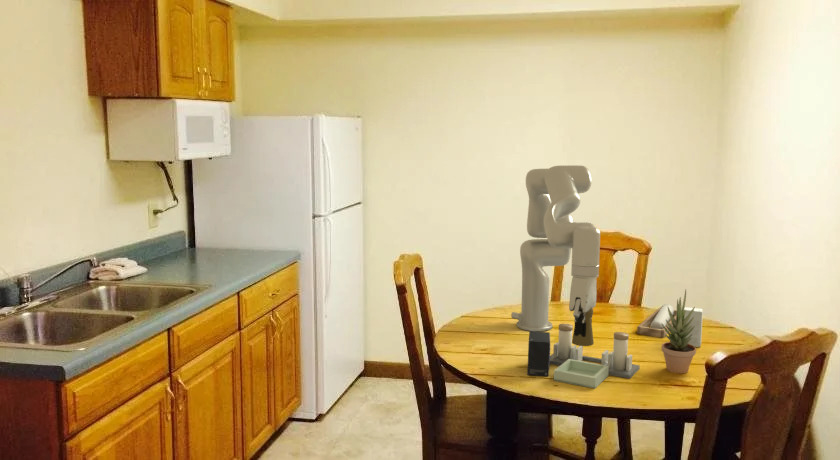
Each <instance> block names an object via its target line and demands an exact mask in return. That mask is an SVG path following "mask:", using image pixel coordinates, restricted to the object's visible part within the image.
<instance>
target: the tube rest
mask: <svg viewBox="0 0 840 460" xmlns="http://www.w3.org/2000/svg"><path fill="white" fill-rule="evenodd" d="M660 308H661V307H659V308H657V309H656V310H654V311H653V313H651V314H650V315H649V316H648V317H647V318H646V319H644V320H643V321H642V322H641V323H640V324H639V325H637V330H636V334H638V335H644V336H650V337H657V338H665V337H666V336H665V335H664V334H666V335H667V336H668V333H667V332H666V331H665V329H664V328H663V329H655V328H650V326H651V323H652V321H653V320H654V318H655V317H656V315H657V313H658V312H659V310H660ZM676 311H677V309H676V310H675V309H674V315H673V317H674V319H675V320H676ZM669 323H670V324H671V325H672V322H671V320H670V321H669ZM667 326H668V324H667ZM672 326H673V325H672ZM668 327H669V326H668ZM665 328H666V329H667V330H668V328H667V327H666V326H665ZM668 331H669V330H668ZM669 333H670V331H669Z"/></svg>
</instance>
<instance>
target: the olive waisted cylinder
mask: <svg viewBox="0 0 840 460" xmlns="http://www.w3.org/2000/svg"><path fill="white" fill-rule="evenodd" d="M580 311H581V312H583V310H581V309H580ZM593 314H594V308H592V307H591V308H590V310H589V311H588V312H586V318H585V323H586V336H585V337H582V335H581V334H579V335H578V336H575V335H574V332H572V345H576V346H578V347H579V346H583V347H590V346H593V345H594V335H593V325H592V324H593V321H592V322H591V316H592V317H593ZM580 315H582V317H583V314H580ZM574 328H575V326H574V327H573V329H574Z"/></svg>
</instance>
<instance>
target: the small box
mask: <svg viewBox="0 0 840 460" xmlns="http://www.w3.org/2000/svg"><path fill="white" fill-rule="evenodd" d="M528 332H529V334H528V345H527V346H528V351H527V352H528V353H527V354H528V355H527V367H526V370H527V371H526V375H527V376H539V377H549V373H550V365H551V364H550V356H551V335H550V334H551V333H550V331H549V332H546V331H528Z"/></svg>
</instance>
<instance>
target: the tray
mask: <svg viewBox="0 0 840 460" xmlns="http://www.w3.org/2000/svg"><path fill="white" fill-rule="evenodd" d="M608 371H609V366H606V365H601V363H596V362H591V361H585V360H582V361H578V360H573V359H568V360H567V361H565V362H564V363H563V364H562V365H560V366H559V365H558V366H557V368H555V369H553V381H554V382H560V383H563V384H569V385H574V386H580V387H585V388H589V389H595V390H596V388H597V387H599V385H600V384H602V382H604V381H605V379H607V378H608V377H609V375H608Z"/></svg>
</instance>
